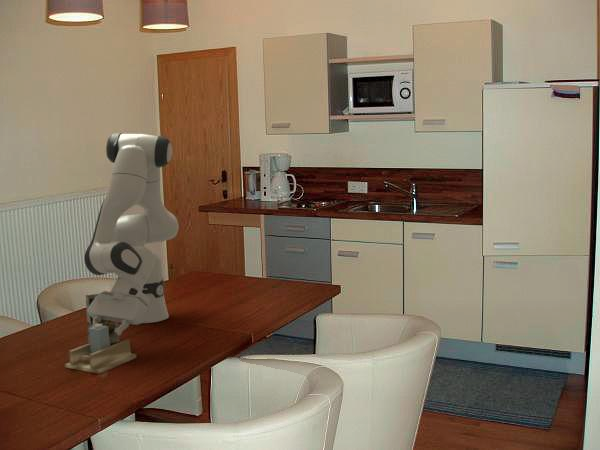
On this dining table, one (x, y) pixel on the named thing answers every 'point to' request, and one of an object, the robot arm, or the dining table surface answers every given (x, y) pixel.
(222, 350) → the dining table surface
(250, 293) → the dining table surface
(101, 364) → the beige ladder rack
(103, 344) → the block
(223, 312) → the dining table surface
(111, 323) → the coffee box
